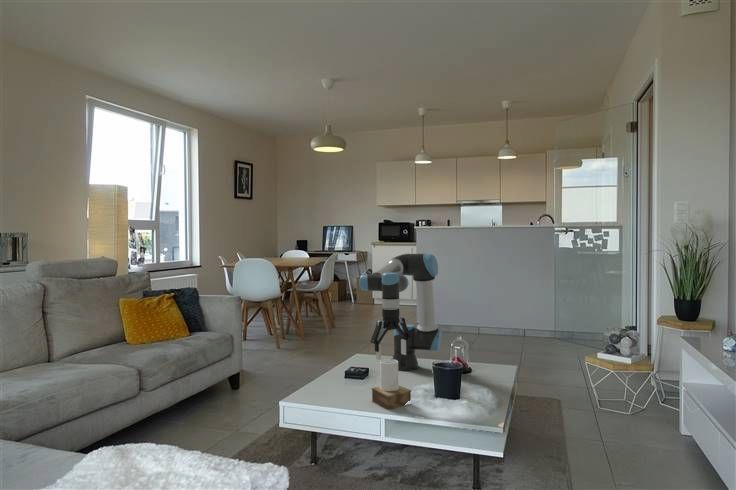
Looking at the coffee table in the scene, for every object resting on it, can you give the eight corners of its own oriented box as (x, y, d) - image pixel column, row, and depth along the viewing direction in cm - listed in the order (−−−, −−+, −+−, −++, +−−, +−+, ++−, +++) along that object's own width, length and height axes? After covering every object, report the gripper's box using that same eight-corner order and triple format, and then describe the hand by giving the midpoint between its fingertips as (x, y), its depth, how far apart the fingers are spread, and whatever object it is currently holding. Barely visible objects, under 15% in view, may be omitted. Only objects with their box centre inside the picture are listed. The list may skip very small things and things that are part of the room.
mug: (403, 392, 206) (403, 364, 205) (384, 394, 203) (384, 366, 203) (395, 384, 217) (395, 358, 217) (377, 386, 215) (377, 359, 215)
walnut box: (394, 396, 219) (394, 383, 219) (411, 404, 209) (411, 390, 209) (371, 401, 212) (371, 388, 212) (388, 410, 202) (388, 395, 202)
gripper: (407, 304, 220) (408, 350, 221) (362, 310, 206) (362, 359, 207) (418, 306, 214) (418, 354, 214) (372, 312, 200) (372, 363, 200)
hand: (391, 356), depth 210 cm, fingers open, 13 cm apart
